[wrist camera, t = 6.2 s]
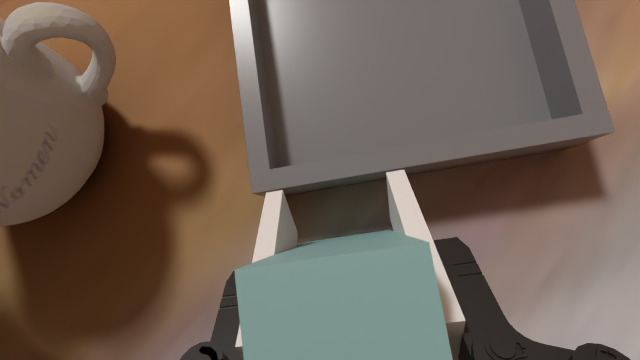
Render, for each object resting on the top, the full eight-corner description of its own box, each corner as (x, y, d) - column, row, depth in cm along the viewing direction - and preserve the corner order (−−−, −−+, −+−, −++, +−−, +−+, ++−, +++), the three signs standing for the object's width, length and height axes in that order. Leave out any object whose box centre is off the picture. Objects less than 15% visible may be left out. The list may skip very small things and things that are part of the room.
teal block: (319, 327, 16) (256, 485, 7) (307, 241, 17) (234, 269, 7) (404, 316, 16) (475, 471, 6) (388, 229, 17) (428, 242, 7)
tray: (270, 197, 18) (251, 193, 15) (236, -71, 20) (215, -120, 17) (568, 148, 16) (614, 131, 13) (487, -138, 19) (511, -205, 16)
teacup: (-7, 245, 20) (-252, 261, 12) (-19, 91, 21) (-239, 15, 14) (194, 188, 18) (71, 164, 11) (164, 29, 20) (39, -94, 12)
